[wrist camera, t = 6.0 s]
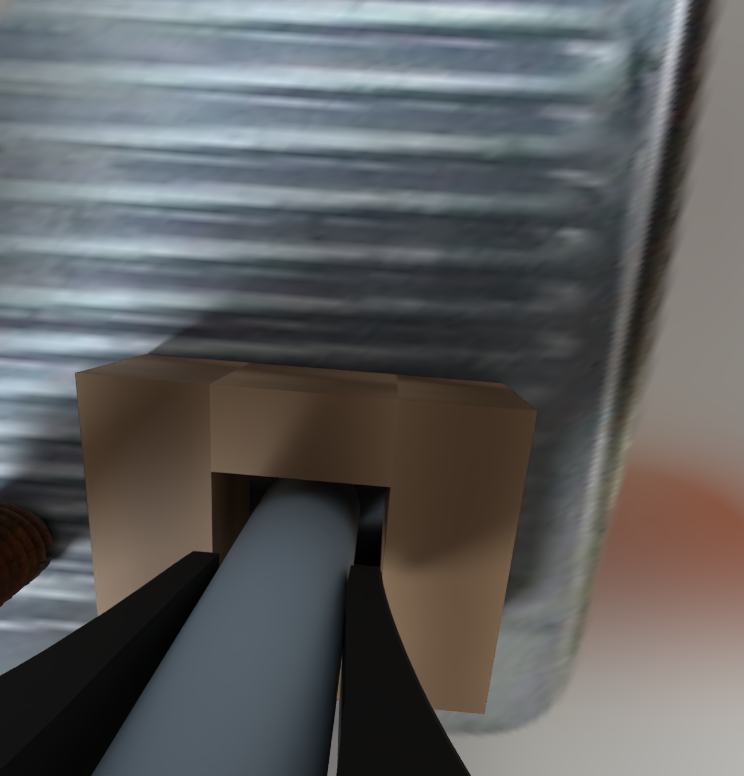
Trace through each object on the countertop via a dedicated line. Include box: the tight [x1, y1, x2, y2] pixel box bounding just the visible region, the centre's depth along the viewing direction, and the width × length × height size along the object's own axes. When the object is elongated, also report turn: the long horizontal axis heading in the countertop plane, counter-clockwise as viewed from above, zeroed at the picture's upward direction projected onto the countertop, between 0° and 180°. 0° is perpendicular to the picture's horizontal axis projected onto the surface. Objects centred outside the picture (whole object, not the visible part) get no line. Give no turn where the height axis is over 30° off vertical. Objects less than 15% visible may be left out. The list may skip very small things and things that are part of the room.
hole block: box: [75, 354, 538, 714], centre depth 12 cm, size 11×9×3 cm
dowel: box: [91, 477, 360, 776], centre depth 8 cm, size 3×3×10 cm
